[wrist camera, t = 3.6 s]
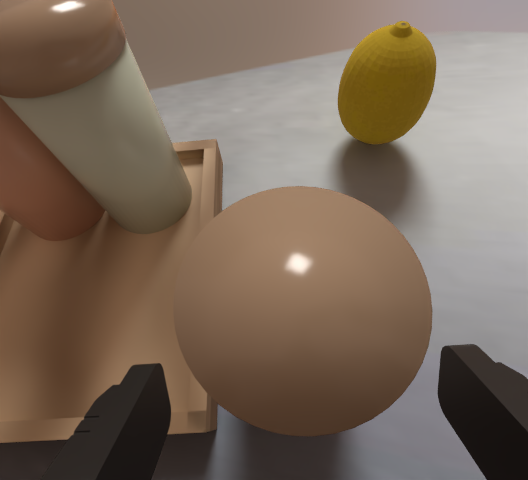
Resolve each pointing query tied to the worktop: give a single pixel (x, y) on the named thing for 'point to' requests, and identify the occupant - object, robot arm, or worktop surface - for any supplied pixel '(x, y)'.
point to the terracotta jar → (40, 185)
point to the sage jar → (92, 107)
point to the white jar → (302, 311)
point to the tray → (98, 314)
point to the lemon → (387, 83)
